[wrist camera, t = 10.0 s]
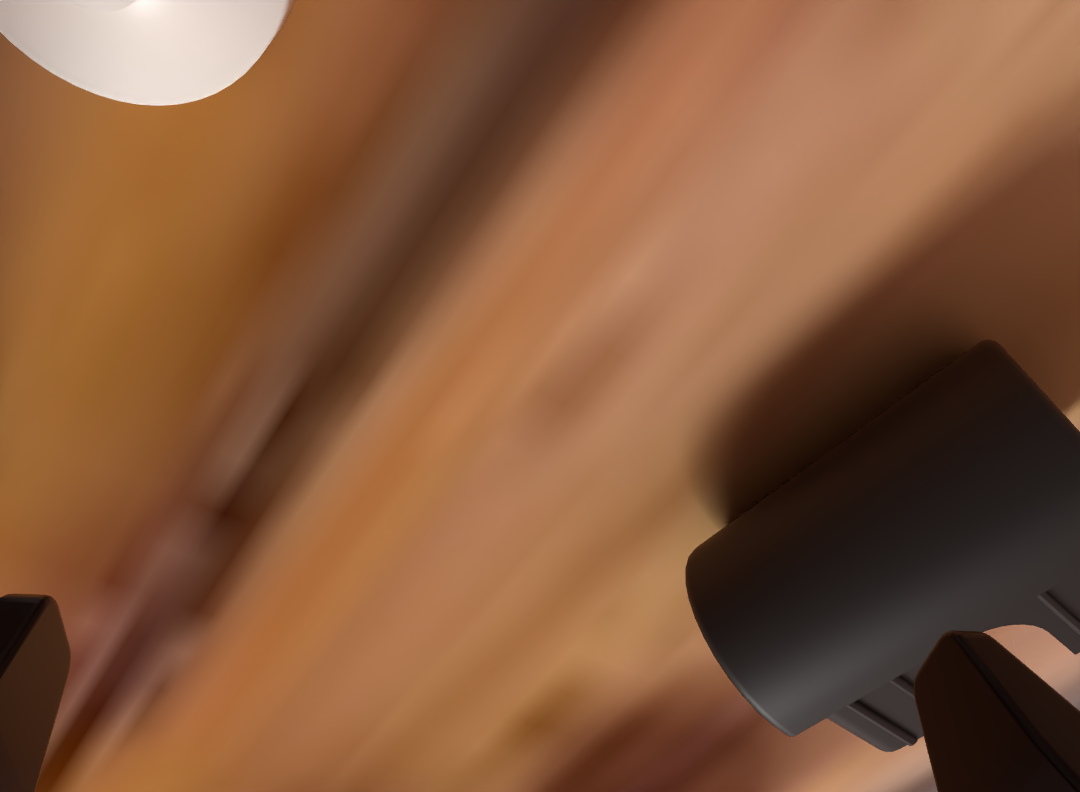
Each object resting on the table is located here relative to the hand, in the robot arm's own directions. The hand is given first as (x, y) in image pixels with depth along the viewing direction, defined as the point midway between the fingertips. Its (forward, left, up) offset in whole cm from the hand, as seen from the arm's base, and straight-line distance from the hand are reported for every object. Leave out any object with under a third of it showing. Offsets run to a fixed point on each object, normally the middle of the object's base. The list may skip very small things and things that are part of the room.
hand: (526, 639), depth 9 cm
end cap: (+12, -8, -13) cm, 20 cm away
